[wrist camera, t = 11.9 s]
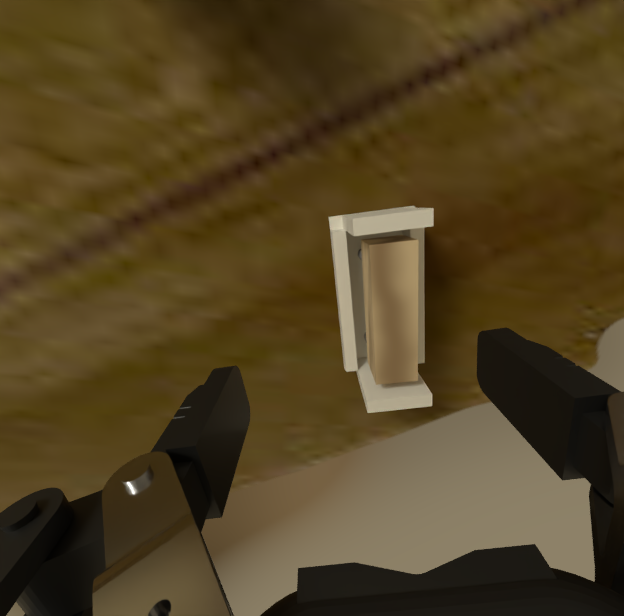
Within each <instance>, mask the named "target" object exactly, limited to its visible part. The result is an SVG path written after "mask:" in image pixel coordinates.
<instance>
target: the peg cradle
mask: <svg viewBox="0 0 624 616" xmlns="http://www.w3.org/2000/svg"><path fill="white" fill-rule="evenodd" d="M329 225H330V235H331V244H332V254H333V264H334V273H335V283H336V293H337V302H338V312H339V322H340V331H341V341H342V351H343V360H344V369H345V370H346V372H348V371H356V372H357V376H358V380H359V383H360V387H361V391H362V394H363V398H364V401H365V405H366V409H367V412H368V413H373V412H382V411H391V410H401V409H410V408H419V407H429V406H432V393H431V392H430V390H429V389H428V387H427V385H426V384H425V382H424V381H423V379H422V378H421V376H420V375H419V373H418V381H409V382H399V383H389V384H379V385H376V383H375V380H374V378H373V375H372V372H371V370H370V367H369V364H368V359H367V341H366V323H365V305H364V288H363V270H362V252H361V239H370V238H379V237H388V236H397V235H405V236H408V237H411V238H414V239H417V240H419V246H418V364H419V363H425V307H424V227H430V226H433V208H415V206H408V207H401V208H393V209H385V210H378V211H370V212H363V213H355V214H347V215H340V216H332V217H329Z"/></svg>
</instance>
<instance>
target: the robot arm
mask: <svg viewBox="0 0 624 616" xmlns="http://www.w3.org/2000/svg"><path fill="white" fill-rule="evenodd" d="M477 379H478V382H479V385H480V388H481V389H482V391H483V392H484V394H485V395H486V396H487V397H488V398H489V399H490V400H491V402H492V403H493V404H494V405H495V406H496V407H497V408H498V409H499V410H500V411H501V413H502V414H503V415H504V416H505V417H506V418H507V419H508V420H509V422H511V424H512V425H513V426H514V427H515V428H516V429H517V430H518V431H519V433H520V434H521V435H522V436H523V437H524V438H525V439H526V440H527V442H528V443H529V444H530V445H531V446H532V447H533V448H534V449H535V450H536V451H537V453H538V454H539V455H540V456H541V457H542V458H543V459H544V460H545V462H546V463H547V464H548V465H549V466H550V467H551V468H552V469H553V470H554V472H556V474H557V475H558V476H559V477H560V478H561V479H562V480H570V479H578V478H586V479H587V480H588V481H589V482H590V483H591V486H590V491H589V502H590V514H591V525H592V537H593V538H592V539H593V551H594V563H595V582H593V581H591V580H588V579H586V578H583V577H581V576H578V575H576V574H572V573H569V572H565V571H562V570H558V569H554V568H550V567H549V565H548V564H547V562H546V561H545V559H544V557H543V556H542V554H541V553H540V551H539V550H538V548H537V547H536V545H535V544H532V545H522V546H512V547H504V548H493V549H484V550H474V551H472V552H470V553H468V554H465V555H463V556H461V557H459V558H457V559H454V560H453V561H450V562H448V563H446V564H443V565H441V566H439V567H437V568H435V569H432V570H430V571H428V572H426V573H423V574H410V573H405V572H400V571H394V570H389V569H384V568H379V567H374V566H369V565H364V564H359V563H345V564H336V565H326V566H315V567H306V568H298V584H297V585H298V586H297V591H296V592H294V593H292V594H289V595H288V596H286V597H284V598H283V599H281V600H280V601H278V602H276V603H275V604H274V605H273V606H271V607H270V608H269V609H268V610H266V611H265V612H264V613H263V614H261V616H624V392H621V391H619V390H617V389H616V388H614V387H612V386H611V385H609V384H607V383H605V382H604V381H602V380H601V379H599V378H598V377H596V376H594V375H593V374H591V373H590V372H588V371H586V370H585V369H583V368H581V367H580V366H576V365H575V363H573V362H572V361H570V360H568V359H567V358H563V357H562V355H560V354H558V353H557V352H555V351H554V350H552V349H550V348H549V347H547V346H544V345H541V344H538V343H535V342H532V341H529V340H526V339H524V338H523V337H521V336H520V335H518V334H517V333H515V332H514V331H512V330H510V329H509V328H500V329H493V330H486V331H481V332H480V333H479V335H478V345H477ZM249 422H250V406H249V402H248V398H247V395H246V391H245V387H244V384H243V380H242V377H241V373H240V370H239V368H238V367H237V366H231V367H224V368H217V369H214V370H213V371H212V372H211V374H210V376H209V377H208V379H207V381H206V382H205V384H204V385H200V386H198V387H197V388H196V389H195V390H194V391H193V392H191V393H190V394H189V395H188V396H187V397H186V399H185V400H184V402H183V403H182V405H181V406H180V409H178V411H177V412H176V414H175V416H174V419H172V420H171V422H170V423H169V425H168V426H167V428H166V429H165V431H164V432H163V434H162V435H161V437H160V438H159V440H158V441H157V443H156V445H155V446H154V448H153V449H152V451H151V452H150V453H146V454H143V455H141V456H138V457H136V458H134V459H132V460H131V461H129V462H127V463H126V464H125V465H123V466H122V467H121V468H119V469H118V470H117V471H116V472H115V473H114V474H113V475H112V476H111V477H110V479H109V480H108V481H107V483H106V484H105V486H104V488H103V490H101V491H98V492H96V493H93V494H90V495H88V496H85V497H82V498H80V499H77V500H74V501H72V502H68V500H67V498H66V497H65V495H64V493H63V492H62V491H61V490H60V489H58V488H47V489H43V490H40V491H37V492H34V493H32V494H30V495H28V496H26V497H24V498H22V499H20V500H19V501H17V502H15V503H14V504H12V505H11V506H9V507H8V508H6V509H5V510H4V511H2V512H1V513H0V616H6V615H7V613H8V612H9V611H10V609H11V608H12V606H13V605H14V603H15V602H17V603H18V605H19V606H20V607H21V608H22V610H23V611H24V612H25V615H24V616H234V615H233V612H232V610H231V607H230V605H229V602H228V600H227V597H226V594H225V592H224V590H223V587H222V584H221V582H220V579H219V577H218V574H217V572H216V569H215V566H214V564H213V561H212V559H211V556H210V554H209V551H208V549H207V546H206V544H205V541H204V539H203V536H202V534H201V531H202V528H203V525H204V522H205V519H211V518H220V517H222V515H223V512H224V508H225V505H226V501H227V498H228V494H229V491H230V487H231V484H232V481H233V477H234V474H235V470H236V467H237V463H238V460H239V457H240V453H241V450H242V446H243V443H244V439H245V436H246V433H247V429H248V426H249Z"/></svg>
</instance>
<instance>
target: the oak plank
mask: <svg viewBox="0 0 624 616" xmlns="http://www.w3.org/2000/svg"><path fill="white" fill-rule="evenodd" d="M418 246H419V240H417V239H414V238H411V237H408V236H405V235H397V236H388V237H379V238H370V239H361V252H362V270H363V288H364V305H365V323H366V341H367V359H368V364H369V367H370V370H371V372H372V375H373V378H374V380H375V383H376V385H379V384H389V383H399V382H409V381H418Z"/></svg>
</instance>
